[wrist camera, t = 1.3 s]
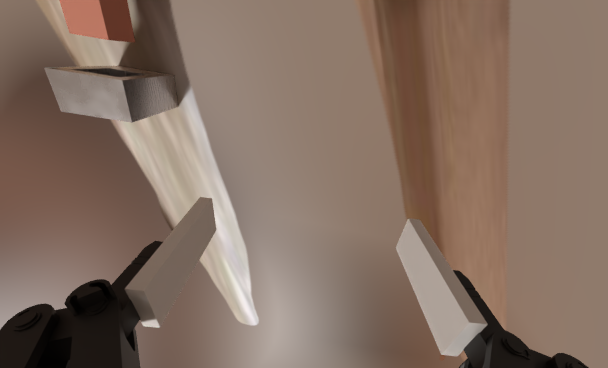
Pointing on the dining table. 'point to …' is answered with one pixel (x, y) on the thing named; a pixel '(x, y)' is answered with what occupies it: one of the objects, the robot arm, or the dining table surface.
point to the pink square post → (99, 19)
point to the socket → (112, 91)
